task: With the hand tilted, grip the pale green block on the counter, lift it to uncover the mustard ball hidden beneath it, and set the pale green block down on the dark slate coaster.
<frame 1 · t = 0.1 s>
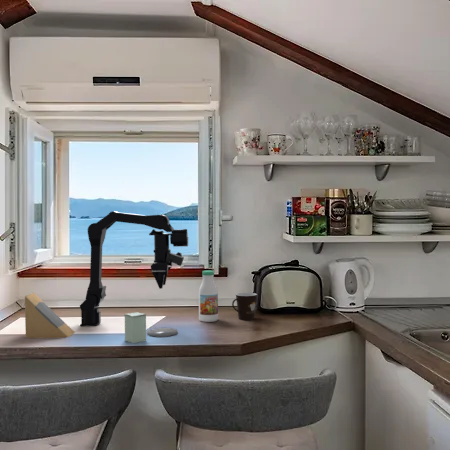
hand: (162, 286, 198), 15 cm above the worktop, tool pointing down, fingers open, 9 cm apart
coaster: (162, 333, 183), on the worktop
mustard ball: (135, 336, 173), in the pale green block
milk bottle: (208, 320, 204), on the worktop
coffee mug: (243, 319, 206), on the worktop
pale green block: (135, 340, 173), on the worktop
sandwich container: (51, 335, 182), on the worktop
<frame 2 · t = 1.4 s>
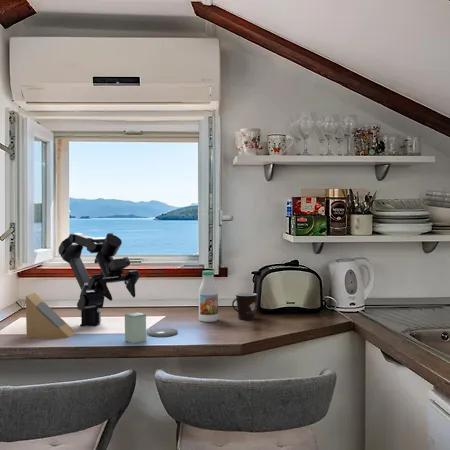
hand: (123, 298, 179), 13 cm above the worktop, tool tilted 45°, fingers open, 9 cm apart
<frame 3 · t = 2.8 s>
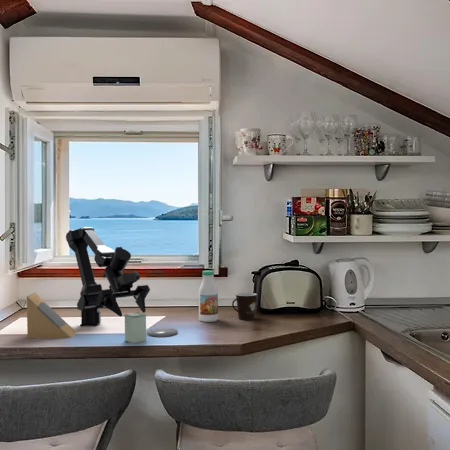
hand: (133, 313, 174), 9 cm above the worktop, tool tilted 45°, fingers open, 9 cm apart
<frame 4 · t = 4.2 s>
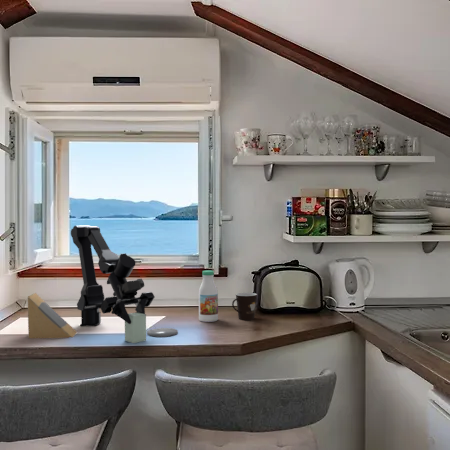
hand: (137, 321, 172), 7 cm above the worktop, tool tilted 45°, fingers closed on pale green block, 5 cm apart
pale green block: (135, 340, 173), on the worktop, touching gripper
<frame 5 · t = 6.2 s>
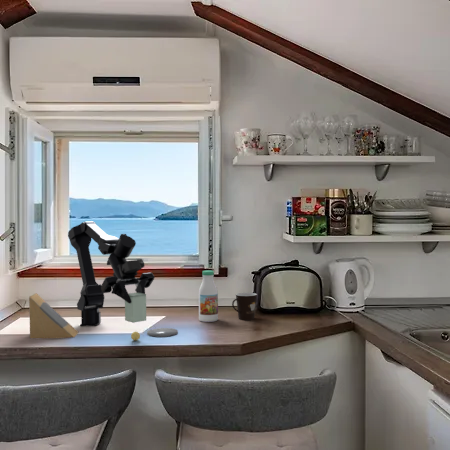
hand: (137, 301, 172), 13 cm above the worktop, tool tilted 45°, fingers closed on pale green block, 5 cm apart
pale green block: (135, 320, 173), point 7 cm above the worktop, touching gripper
when the fingers open (8 cm above the worktop, at t = 8.6 s): pale green block stays where it is, resting on coaster.
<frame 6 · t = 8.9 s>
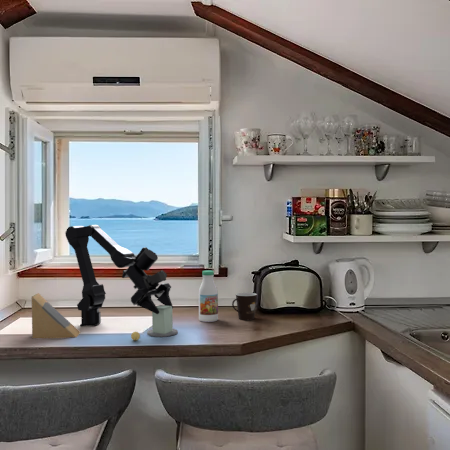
hand: (165, 311, 182), 8 cm above the worktop, tool tilted 45°, fingers open, 9 cm apart
pale green block: (162, 331, 183), point 1 cm above the worktop, touching coaster
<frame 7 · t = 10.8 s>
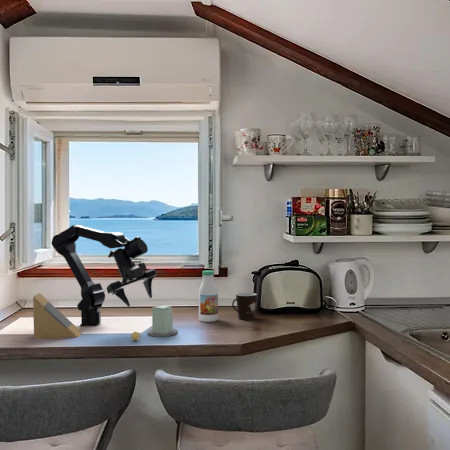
hand: (140, 302, 189), 10 cm above the worktop, tool tilted 25°, fingers open, 9 cm apart
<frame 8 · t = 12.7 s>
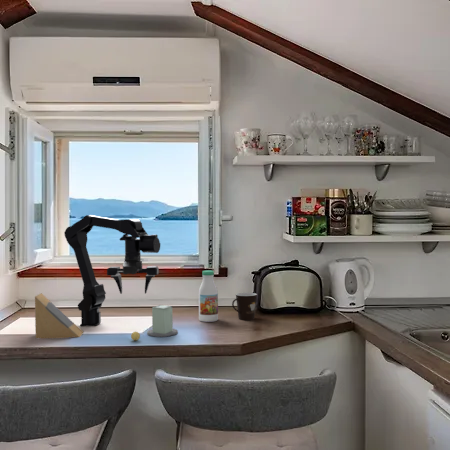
hand: (133, 293, 192), 13 cm above the worktop, tool pointing down, fingers open, 9 cm apart
at the end: pale green block 0.0 cm from the coaster (horizontally); pale green block tilted 0°; the gripper is holding nothing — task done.
